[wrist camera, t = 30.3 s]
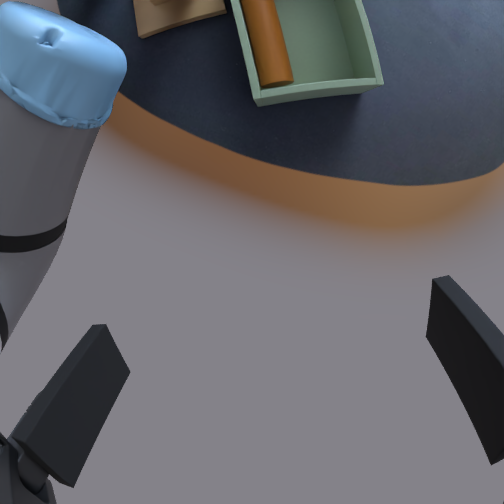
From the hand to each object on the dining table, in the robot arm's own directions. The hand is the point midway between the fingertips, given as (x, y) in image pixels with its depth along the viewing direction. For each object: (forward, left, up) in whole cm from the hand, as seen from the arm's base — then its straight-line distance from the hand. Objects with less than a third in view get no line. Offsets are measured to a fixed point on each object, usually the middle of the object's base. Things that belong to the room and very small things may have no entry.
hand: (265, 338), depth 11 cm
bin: (+7, +22, -31) cm, 38 cm away
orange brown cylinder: (+5, +22, -29) cm, 37 cm away
